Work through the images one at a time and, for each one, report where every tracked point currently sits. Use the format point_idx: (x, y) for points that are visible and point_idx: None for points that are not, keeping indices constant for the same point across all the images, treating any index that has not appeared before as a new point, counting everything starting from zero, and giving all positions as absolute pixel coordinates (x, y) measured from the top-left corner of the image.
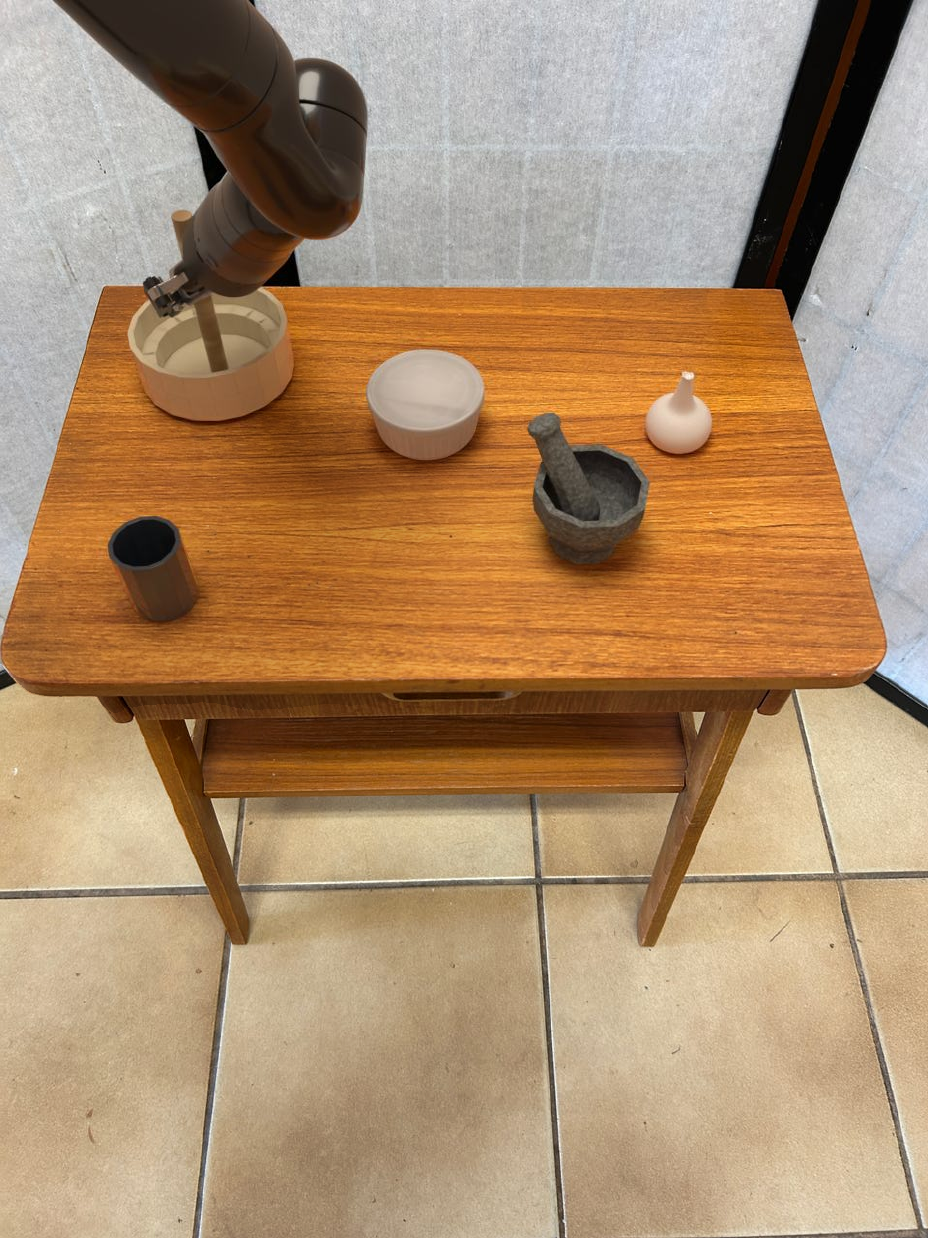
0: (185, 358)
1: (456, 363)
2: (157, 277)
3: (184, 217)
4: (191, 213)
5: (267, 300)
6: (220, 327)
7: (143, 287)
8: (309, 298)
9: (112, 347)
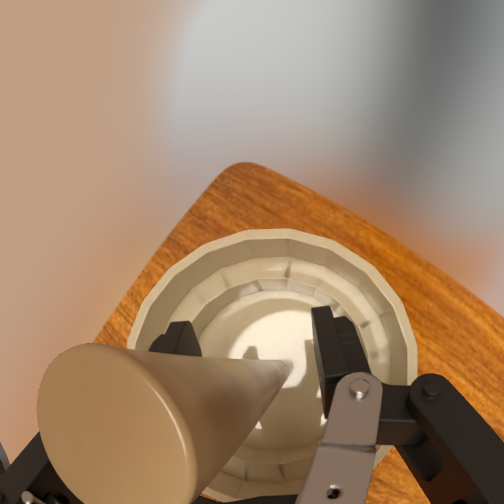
0: (245, 320)
1: None
2: (23, 500)
3: (105, 491)
4: (188, 498)
5: (402, 352)
6: (318, 297)
7: (23, 450)
8: (452, 283)
9: (187, 236)
